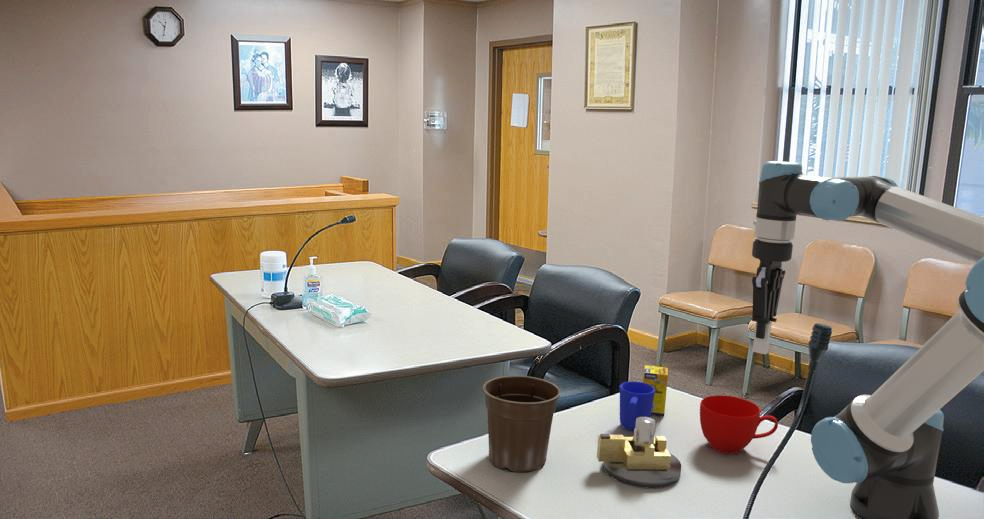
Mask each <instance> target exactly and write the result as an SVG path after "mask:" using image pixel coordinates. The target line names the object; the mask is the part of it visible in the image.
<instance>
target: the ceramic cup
mask: <svg viewBox="0 0 984 519" xmlns="http://www.w3.org/2000/svg"><path fill="white" fill-rule="evenodd" d="M765 420H771V421H773V423H774V426H773V427H772V428H771V429H770V430H769V431H766V432H763V433H762V432H761V433H757V434H756V432H757V429H758V427H759V426H760V424H761V423H762V422H764V421H765ZM699 422H700V428H701V431H702V434H703V437H704V438H705V440H706V441H707V442H708V444H709V445H710V448H712V449H713V450H715V451H717V452H720V453H722V454H731V455H732V454H738V453H740V452H741V451H742V450H744V449H745V448H746V447H748V445H749V444H750V443H751V442H752V440H753V439H762V438H766V437H769V436H771V435H773V434H774V433H775V432H776V431H777V429H778V428H779V422H778V420H777V418H776V417H774V416H773V415H769V414H768V415H762V416H761V408H760V407H759V406H758V404H756V403H754V402H752V401H749V400H747V399H744V398H741V397H737V396H731V395H722V394H721V395H719V394H718V395H709V396H706V397H704V398H702V399H701V401H700V403H699Z"/></svg>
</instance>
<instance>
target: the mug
mask: <svg viewBox="0 0 984 519" xmlns="http://www.w3.org/2000/svg"><path fill="white" fill-rule="evenodd" d="M654 394H655V388H654V387H653V386H651V385H649V384H646V383H643V381H634V380H633V381H626V382H622V383H620V384H619V424H620V426H621V427H622V428H623V429H625V430H627V431H632V432H634V429H635V426H636V419H637V418H638V417H649V418H652V415H651V411H652V405H653V400H654Z"/></svg>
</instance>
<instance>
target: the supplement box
mask: <svg viewBox="0 0 984 519" xmlns="http://www.w3.org/2000/svg"><path fill="white" fill-rule="evenodd" d="M642 375H643V377H642V383H646V384H649V385H651V386H653V387H654V388H655V394H654V400H653V405H652V411H651V416H658V417H665V412H666V411H665V410H666V402H667V401H666V400H667V399H666V398H667V389H668V388H667V387H668V379H669V369H668V367H664V366H657V365H643V374H642Z"/></svg>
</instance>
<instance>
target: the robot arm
mask: <svg viewBox="0 0 984 519" xmlns="http://www.w3.org/2000/svg"><path fill="white" fill-rule="evenodd" d="M760 172H761V173H760V176H759V181H758V185H759V186H758V197H757V198H758V199H757V207H756V208H757V209H756V215H755V216H756V217H755V220H753V222H752V225H754V234H753V235H754V236H755V238H754V239H753V241H752V249H751V250H752V251H751V256H752V257H753V258H754V259H758V260H759V264H758V265H759V266H758V267H757V268H756V276H753V277H752V279H751V283H752V315H751V316H752V318H751V321H752V322H755V328H754V337H753V344H752V352H753V353H758V354H761V355H767V354H769V348H770V342H771V331H772V322H773V323H777V319H778V318H775V317H777V312H778V307H779V303H780V302H779V301H780V296H781V291H782V286H783V282H784V278H785V274H786V269H783V268H782V266H783V265H782V264H783V263H784V262H785V263H786V262H789V261H791V260H792V256H793V248H794V243H793V242H792V240H794V239H795V232H796V223H797V215H798V214H799V215H803V216H807V217H813V218H814V217H815V218H817V219H822V220H823V221H839V222H843V221H846V220H848V218H849V217H863V218H865V219H868V220H870V221H872V222H875V223H877V224H881V225H883V226H886V227H888V228H890V229H892V230H895V231H897V232H900V233H902V234H905V235H908V236H909V237H912V238H914V239H916V240H919V241H921V242H924V243H926V244H929V245H930V246H933V247H936V248H938V249H940V250H942V251H945V252H947V253H948V254H949V253H950V254H952V255H955V256H957V257H959V258H962V259H963V260H967V261H969V262H971V263H973V264H974V265H973V266H972V267H971V269H970V270H969V272H968V274H967V276H966V279H965V282H964V284H965V287H966V288H965V289H964V290H963V291H962V292H961V293H959V295H958V297H957V306H958V311H957V312H956V313H954V314H953V316H952V317H950V318H949V320H948V321H946V322H945V324H944V325H942V326H941V327H940V328H939V330H937V331H936V333H934V334H933V335H932V336H930V338H929V339H928V340H927V341H926V342H925V343H924V344H923V345H922V346H921V347H920V348H919V349H918V350H916V352H914V353H913V355H911V356H910V358H908V359H907V360H906V361H905V362H904V363H903V364H902V365H901V366H900V367H899V368H898V369H897V370H896V371H895V372H894V373H893V374H892V375H891V376H890V377H889V378H888V379H887V380H886V381H885V382H884V383H882V385H880V387H878V389H876V390H875V391H874V392H873V393H872V394H861V395H857V397H855V398H854V399H853V400H851V401H850V403H848V404H847V405H846V407H844V409H842V410H841V411H840V412H839V413H838V414H836V415H834V416H827V417H824V418H823V419H821V420H819V421H817V423H816V424H815V425H814V427H813V429H812V430H811V434H810V443H811V445H812V447H811V451H812V454H813V457H814V459H815V461H816V463H817V465H818V466H819V467H820V469H821V470H822V472H824V473H825V475H826V476H828V477H829V478H830V479H832V480H834V481H836V482H839V483H841V484H855V485H854V487H853V488H852V491H851V494H850V500H849V505H850V507H851V509H852V510H853V511H854V512H855V513H856V515H858V516H859V517H860V516H861V517H860V518H862V519H863V518H864V519H939V517H940V512H939V511H940V510H939V507H938V506H939V505H938V501H937V496H936V493H935V492H936V491H935V487H934V482H935V476H936V470H937V463H938V459H939V453H940V447H941V441H942V437H943V436H942V435H943V432H944V430H945V429H944V418H945V416H944V413H943V411H942V410H941V409H942V408H944V406H945V405H946V404H947V403H948V402H950V401H951V400H952V399H953V398H955V397H956V396H957V395H958V394H959V393H960V392H961V391H963V390H964V389H965V388H966V387H967V386H968V385H969V384H970V383H971V382H973V381H974V380H976V378H978V376H980V375H981V374H982V373H984V217H982V216H980V215H977V214H975V213H972V212H969V211H966V210H963V209H961V208H958V207H955V206H952V205H950V204H947V203H944V202H942V201H938V200H936V199H933V198H930V197H927V196H925V195H922V194H920V193H916V192H915V191H914V192H913V191H911V190H908V189H905V188H902V187H900V186H899V185H897V183H896V182H895V181H894V180H893V179H891V178H889V177H883V176H878V175H872V176H871V175H870V176H869V175H868V176H833V177H832V176H831V177H830V176H828V177H827V176H816V175H814V176H813V175H805V174H804V173H803V165H802V164H801V163H799V162H793V161H782V160H781V161H780V160H771V161H770V160H769V161H766V162H764V163H763V165H762V167H761V171H760Z"/></svg>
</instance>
